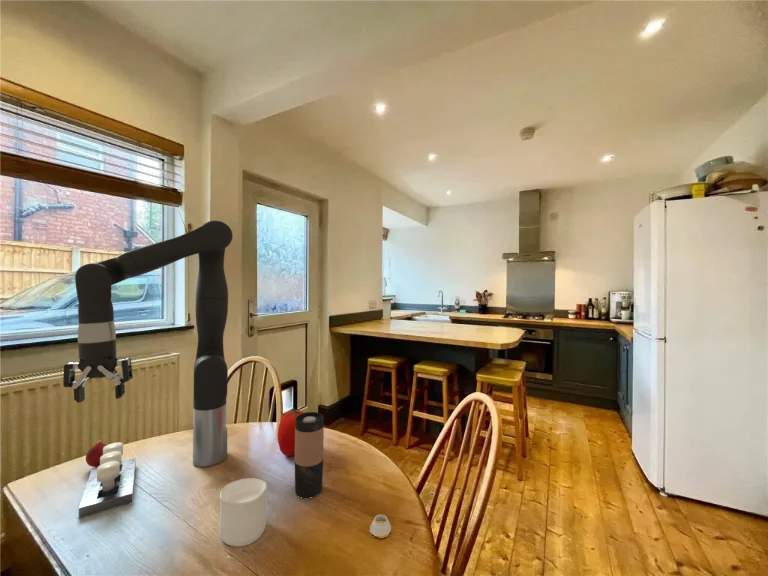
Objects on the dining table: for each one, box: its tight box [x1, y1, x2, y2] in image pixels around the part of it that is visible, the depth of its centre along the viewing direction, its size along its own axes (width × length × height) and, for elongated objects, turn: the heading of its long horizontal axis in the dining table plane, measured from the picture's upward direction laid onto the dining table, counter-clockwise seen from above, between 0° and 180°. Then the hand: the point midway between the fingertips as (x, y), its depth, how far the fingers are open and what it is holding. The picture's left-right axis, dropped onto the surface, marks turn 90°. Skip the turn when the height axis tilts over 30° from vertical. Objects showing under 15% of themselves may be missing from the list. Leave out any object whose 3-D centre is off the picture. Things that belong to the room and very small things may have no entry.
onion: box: [85, 439, 108, 468], centre depth 98 cm, size 6×6×8 cm
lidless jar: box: [369, 514, 392, 537], centre depth 75 cm, size 5×3×5 cm
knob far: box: [103, 441, 124, 457], centre depth 93 cm, size 4×4×6 cm
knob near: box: [97, 461, 120, 491], centre depth 83 cm, size 4×4×6 cm
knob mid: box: [100, 451, 122, 465], centre depth 88 cm, size 4×4×6 cm
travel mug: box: [294, 411, 325, 499], centre depth 89 cm, size 8×8×20 cm
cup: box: [218, 477, 268, 548], centre depth 74 cm, size 10×10×10 cm
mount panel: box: [78, 457, 137, 519], centre depth 88 cm, size 10×20×2 cm, turn 35°
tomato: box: [276, 408, 306, 457], centre depth 108 cm, size 13×11×14 cm
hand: (100, 399), depth 87 cm, fingers open, 8 cm apart
